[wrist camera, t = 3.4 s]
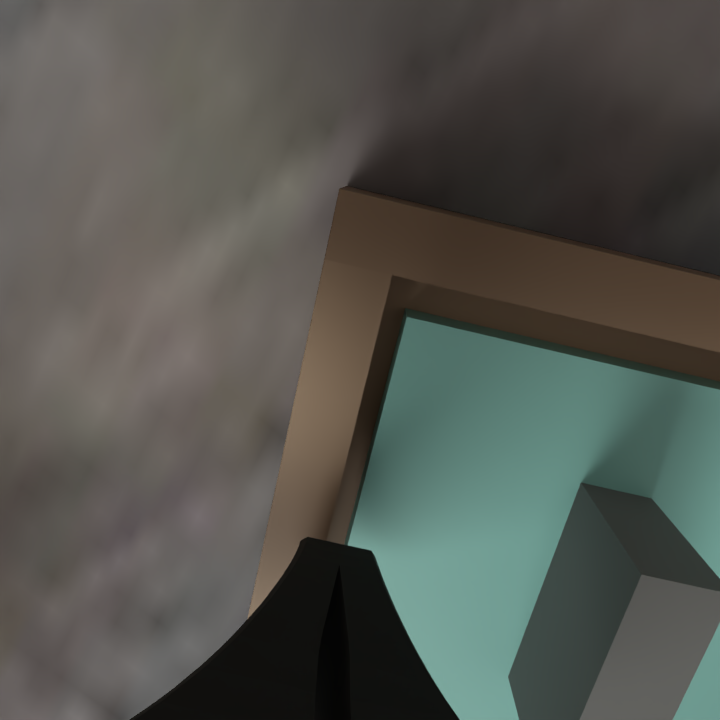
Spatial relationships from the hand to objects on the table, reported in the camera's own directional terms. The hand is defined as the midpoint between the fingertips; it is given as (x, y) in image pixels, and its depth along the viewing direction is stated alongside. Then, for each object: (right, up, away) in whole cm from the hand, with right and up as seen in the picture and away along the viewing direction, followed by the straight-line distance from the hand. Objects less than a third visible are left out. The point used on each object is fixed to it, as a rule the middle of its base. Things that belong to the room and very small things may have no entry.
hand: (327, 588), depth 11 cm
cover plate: (+5, 0, +2) cm, 6 cm away
